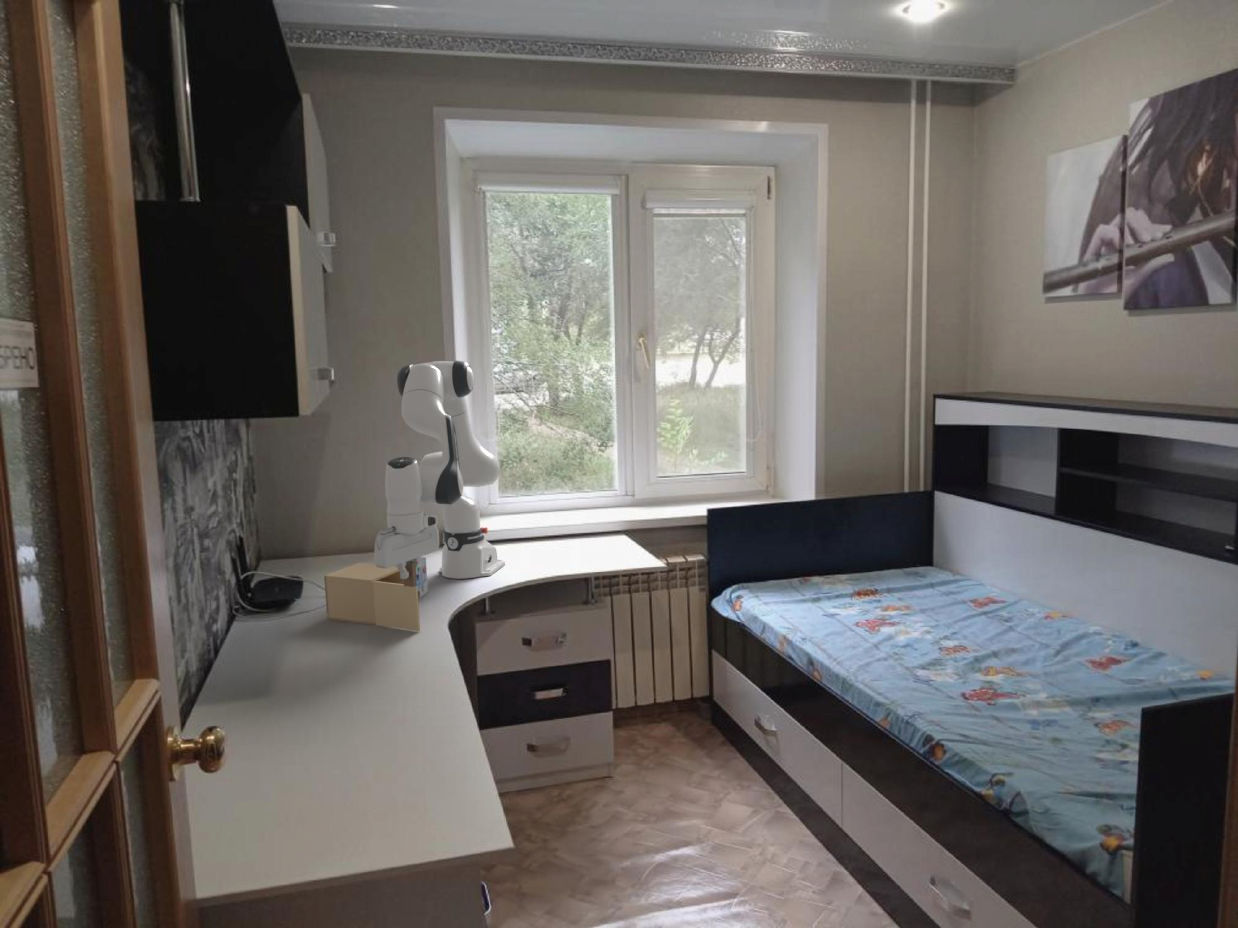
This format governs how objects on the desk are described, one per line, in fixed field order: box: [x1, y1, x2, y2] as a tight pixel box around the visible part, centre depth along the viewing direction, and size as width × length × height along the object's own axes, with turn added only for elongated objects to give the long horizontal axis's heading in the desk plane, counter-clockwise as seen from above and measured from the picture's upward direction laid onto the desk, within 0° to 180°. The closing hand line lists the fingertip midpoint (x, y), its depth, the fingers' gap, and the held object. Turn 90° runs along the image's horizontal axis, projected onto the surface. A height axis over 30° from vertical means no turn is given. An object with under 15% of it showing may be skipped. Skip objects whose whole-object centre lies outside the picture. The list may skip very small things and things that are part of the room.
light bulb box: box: [395, 556, 429, 600], centre depth 245 cm, size 11×7×11 cm, turn 168°
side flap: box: [373, 562, 421, 632], centre depth 217 cm, size 14×1×18 cm, turn 64°
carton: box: [323, 562, 404, 626], centre depth 230 cm, size 14×16×12 cm
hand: (409, 576), depth 214 cm, fingers closed
